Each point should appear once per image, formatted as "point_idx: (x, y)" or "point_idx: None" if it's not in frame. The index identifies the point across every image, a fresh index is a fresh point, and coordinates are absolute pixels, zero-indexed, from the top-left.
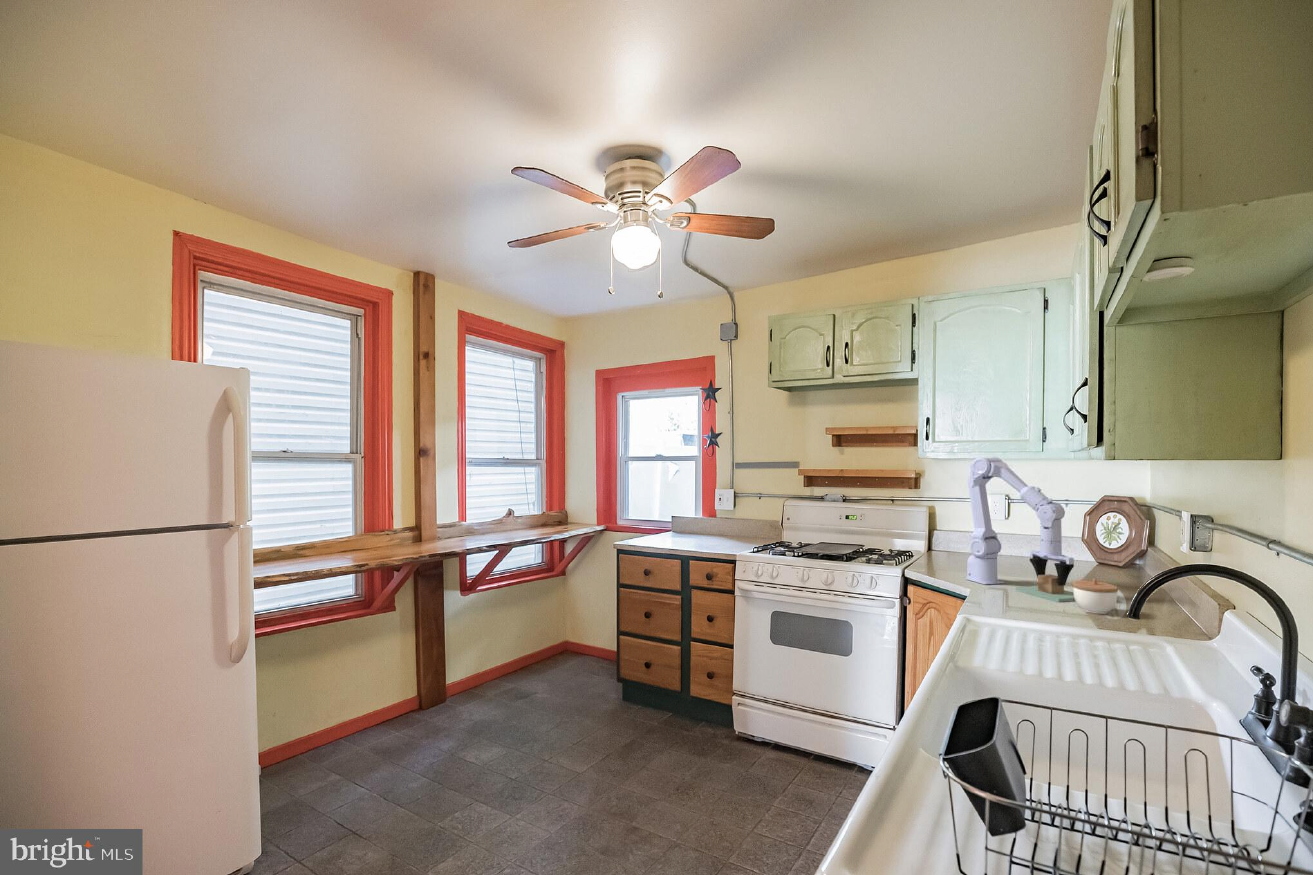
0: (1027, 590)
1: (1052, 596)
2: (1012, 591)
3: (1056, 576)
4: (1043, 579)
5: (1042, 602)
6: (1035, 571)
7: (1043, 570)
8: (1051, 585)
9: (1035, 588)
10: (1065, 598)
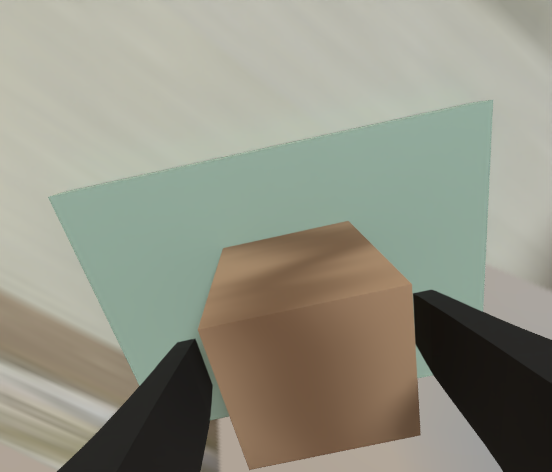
0: (362, 128)
1: (136, 203)
2: (448, 38)
3: (306, 435)
4: (310, 282)
5: (27, 36)
6: (523, 329)
7: (492, 429)
8: (214, 283)
9: (416, 247)
10: (80, 262)
